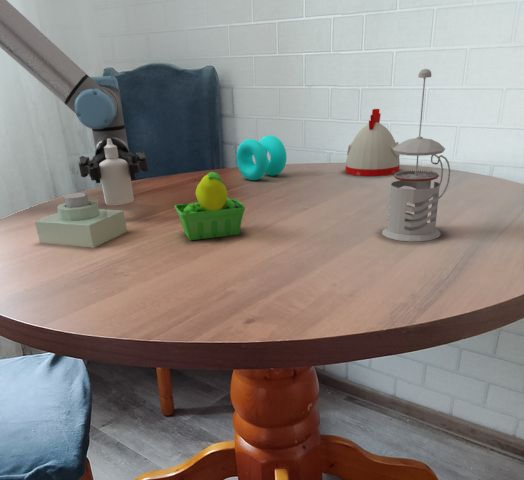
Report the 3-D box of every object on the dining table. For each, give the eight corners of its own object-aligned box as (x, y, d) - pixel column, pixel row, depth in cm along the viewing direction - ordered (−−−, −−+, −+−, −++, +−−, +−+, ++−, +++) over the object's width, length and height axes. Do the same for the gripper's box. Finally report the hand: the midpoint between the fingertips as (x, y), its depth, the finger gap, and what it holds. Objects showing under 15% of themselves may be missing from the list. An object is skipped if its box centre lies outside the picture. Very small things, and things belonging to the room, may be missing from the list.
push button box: (39, 242, 98) (31, 209, 95) (76, 227, 106) (69, 196, 103) (93, 248, 93) (86, 213, 90) (127, 231, 101) (121, 199, 98)
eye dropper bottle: (110, 200, 110) (99, 137, 104) (137, 200, 109) (127, 136, 103) (102, 205, 106) (90, 141, 100) (129, 205, 105) (118, 140, 99)
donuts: (289, 176, 141) (288, 135, 136) (262, 183, 135) (260, 140, 130) (262, 172, 147) (260, 133, 142) (235, 179, 141) (232, 138, 136)
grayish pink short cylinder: (61, 209, 96) (59, 197, 95) (76, 203, 99) (74, 192, 98) (79, 210, 94) (77, 198, 93) (94, 204, 98) (91, 193, 97)
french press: (370, 231, 94) (378, 70, 83) (420, 220, 99) (435, 66, 87) (408, 245, 87) (423, 70, 75) (461, 232, 91) (483, 66, 79)
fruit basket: (236, 224, 102) (232, 162, 97) (250, 237, 94) (246, 170, 89) (177, 232, 99) (169, 168, 94) (185, 246, 92) (177, 177, 86)
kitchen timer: (404, 167, 145) (408, 106, 138) (392, 177, 134) (396, 111, 127) (353, 165, 150) (355, 106, 143) (338, 175, 139) (340, 112, 132)
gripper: (157, 169, 123) (167, 189, 104) (72, 177, 120) (66, 199, 100) (152, 134, 120) (162, 148, 100) (65, 141, 116) (57, 157, 96)
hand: (114, 173), depth 100 cm, fingers closed on eye dropper bottle, 6 cm apart
